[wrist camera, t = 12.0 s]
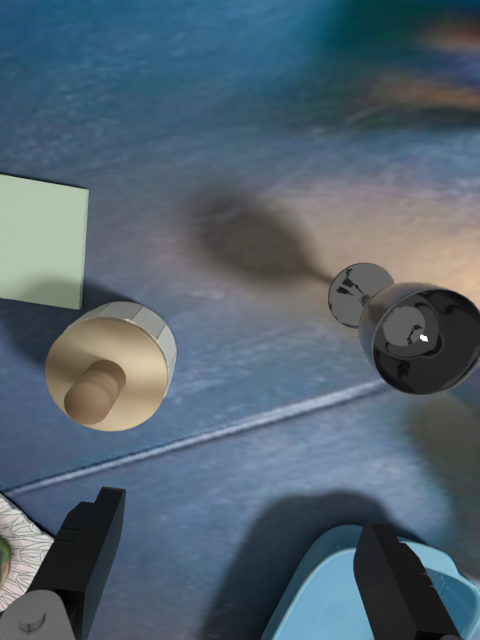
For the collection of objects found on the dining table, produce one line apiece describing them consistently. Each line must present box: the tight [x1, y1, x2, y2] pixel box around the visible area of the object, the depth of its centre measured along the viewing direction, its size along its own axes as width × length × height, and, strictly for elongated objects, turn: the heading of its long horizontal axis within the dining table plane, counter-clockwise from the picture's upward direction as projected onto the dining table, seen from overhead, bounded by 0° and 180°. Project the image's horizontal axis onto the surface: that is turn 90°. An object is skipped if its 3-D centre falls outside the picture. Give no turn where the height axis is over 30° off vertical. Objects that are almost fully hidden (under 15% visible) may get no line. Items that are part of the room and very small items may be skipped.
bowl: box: [63, 301, 177, 398], centre depth 40 cm, size 11×11×6 cm
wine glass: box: [329, 263, 480, 396], centre depth 35 cm, size 8×8×15 cm
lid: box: [45, 317, 169, 431], centre depth 34 cm, size 11×11×6 cm
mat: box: [0, 174, 89, 310], centre depth 39 cm, size 12×12×1 cm
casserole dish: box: [260, 525, 480, 640], centre depth 51 cm, size 37×22×7 cm, turn 159°
